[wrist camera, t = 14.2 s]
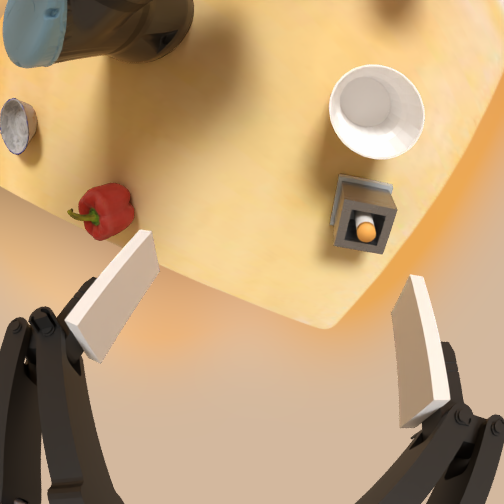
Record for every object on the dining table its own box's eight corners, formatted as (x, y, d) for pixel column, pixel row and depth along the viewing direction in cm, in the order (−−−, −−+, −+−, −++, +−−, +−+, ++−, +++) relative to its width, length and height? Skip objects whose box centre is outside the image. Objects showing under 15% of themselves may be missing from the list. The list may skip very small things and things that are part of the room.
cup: (393, 144, 34) (412, 169, 26) (322, 128, 35) (322, 147, 28) (406, 76, 28) (432, 81, 20) (331, 58, 29) (335, 54, 22)
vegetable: (95, 206, 53) (64, 233, 45) (100, 164, 46) (65, 188, 39) (137, 230, 54) (109, 261, 46) (147, 188, 47) (114, 217, 40)
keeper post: (329, 221, 44) (329, 254, 37) (339, 173, 39) (341, 199, 32) (378, 230, 42) (386, 264, 36) (391, 184, 37) (405, 212, 31)
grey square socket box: (333, 223, 42) (333, 245, 38) (341, 180, 38) (344, 199, 34) (377, 231, 41) (382, 254, 37) (388, 189, 37) (397, 209, 32)
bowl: (26, 155, 49) (11, 164, 45) (9, 111, 42) (-6, 118, 39) (50, 131, 44) (34, 139, 40) (32, 82, 38) (14, 88, 34)
